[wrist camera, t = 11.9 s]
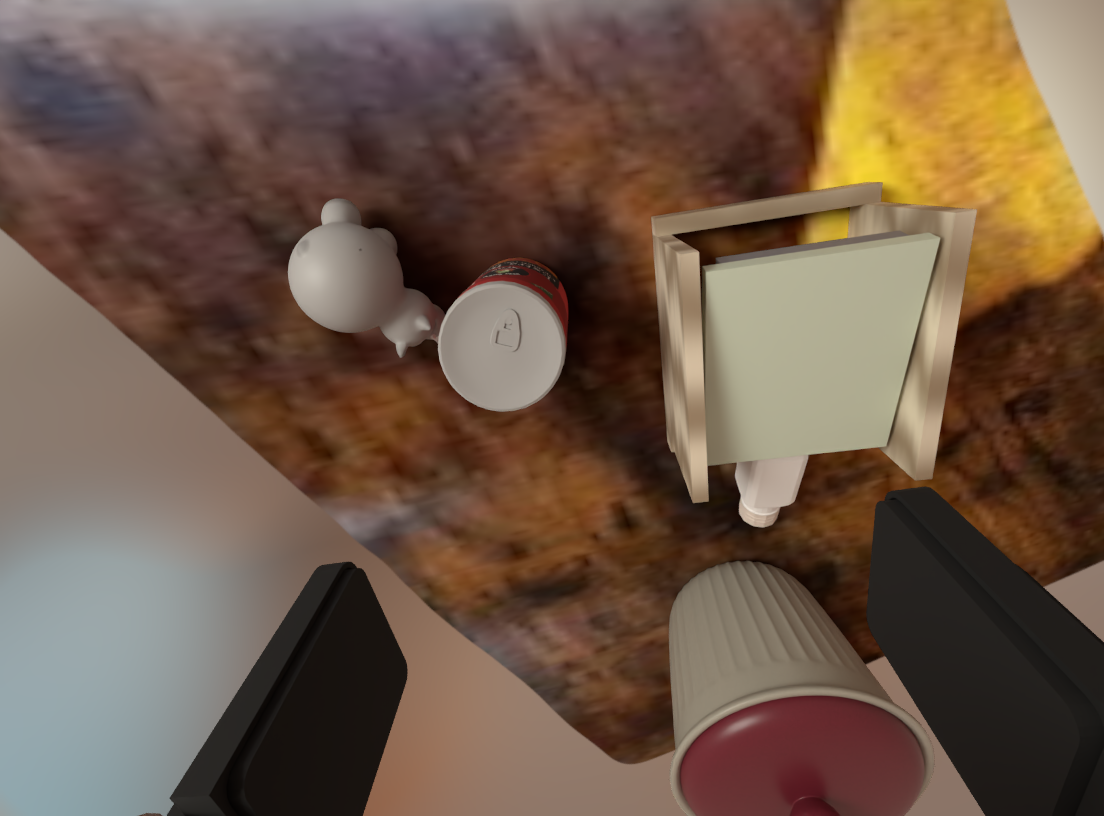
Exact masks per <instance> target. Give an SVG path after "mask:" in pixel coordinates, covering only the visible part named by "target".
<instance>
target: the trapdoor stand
mask: <svg viewBox="0 0 1104 816" xmlns="http://www.w3.org/2000/svg"><path fill="white" fill-rule="evenodd" d="M882 184H883V183H882V182H866V183H859V184H853V185H847V186H841V187H834V188H828V189H822V190H816V191H809V192H803V193H797V194H790V195H784V196H778V197H772V198H765V199H759V200H753V201H747V202H740V203H734V204H728V205H722V206H715V207H709V208H703V209H697V210H690V211H684V212H678V213H672V214H665V215H659V216H653V217H651V220H652V234H653V248H654V262H655V275H656V289H657V303H658V317H659V331H660V344H661V358H662V372H663V386H664V399H665V413H666V427H667V441H668V444H669V447H670V450H671V452H675V454H676V456H677V459H678V462H679V465H680V468H681V470H682V473H683V476H684V479H685V482H686V484H687V487H688V490H689V493H690V496H691V498H692V501H693V503H697V502H707V501H709V500H708V474H707V448H706V422H705V396H704V370H703V344H702V318H701V291H700V265H699V251H697V250H696V249H694V248H692V247H691V246H689V245H687V244H686V243H684V242H682V241H681V240H679V239H677V238H676V237H674V236H672V234H678V233H685V232H691V231H697V230H704V229H710V228H717V227H723V226H730V225H736V224H742V223H749V222H755V221H762V220H768V219H775V218H781V217H787V216H794V215H800V214H807V213H813V212H820V211H826V210H832V209H839V208H845V207H850V215H849V228H848V238H852V237H858V236H865V235H872V234H878V233H885V232H892V231H899V230H900V231H902V232H904V233H906V234H907V235H916V234H923V233H931V234H933V235H935V236H938V237H940V242H939V245H938V249H937V253H936V257H935V261H934V265H933V269H932V272H931V276H930V280H929V284H928V288H927V292H926V295H925V299H924V303H923V307H922V311H921V315H920V319H919V322H918V326H917V330H916V334H915V338H914V342H913V345H912V349H911V353H910V357H909V361H908V365H907V369H906V372H905V376H904V380H903V384H902V388H901V392H900V395H899V399H898V403H897V407H896V411H895V415H894V419H893V422H892V426H891V430H890V434H889V438H888V442H887V445H886V446H884V447H878V448H879V449H881V450H882V451H883V452H884V453H885V454H886V455H887V456H888V457H889V458H891V459H892V460H893V461H894V462H895V463H896V464H897V465H898V466H900V467H901V468H902V469H903V470H904V471H905V472H906V473H907V474H908V475H910V476H911V477H912V478H913V479H914V480H925V479H932V476H933V470H934V464H935V458H936V452H937V446H938V440H939V434H940V428H941V422H942V416H943V410H944V404H945V398H946V392H947V386H948V380H949V374H950V368H951V362H952V356H953V350H954V344H955V338H956V332H957V326H958V320H959V315H960V309H961V303H962V297H963V291H964V285H965V279H966V273H967V267H968V261H969V255H970V249H971V243H972V237H973V231H974V225H975V219H976V213H977V209H964V208H951V207H938V206H926V205H913V204H900V203H887V202H881V194H882Z"/></svg>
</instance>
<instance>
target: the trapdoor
mask: <svg viewBox="0 0 1104 816" xmlns="http://www.w3.org/2000/svg"><path fill="white" fill-rule="evenodd" d="M939 242H940V237H938V236H935V235H933V234H931V233H923V234H916V235H907V234H906V233H904V232H902V231H900V230H899V231H892V232H885V233H878V234H872V235H865V236H858V237H852V238H845V239H838V240H832V241H825V242H818V243H812V244H805V245H798V246H792V247H785V248H778V249H771V250H765V251H758V252H751V253H745V254H738V255H731V256H725V257H718V258H716V264H714V265H707V266H702V344H703V370H704V396H705V422H706V448H707V466H709V465H718V464H727V463H737V462H746V461H755V460H764V459H774V458H783V457H792V456H801V455H810V454H820V453H829V452H838V451H847V450H857V449H866V448H875V447H884V446H886V445H887V442H888V438H889V434H890V430H891V426H892V422H893V419H894V415H895V411H896V407H897V403H898V399H899V395H900V392H901V388H902V384H903V380H904V376H905V372H906V369H907V365H908V361H909V357H910V353H911V349H912V345H913V342H914V338H915V334H916V330H917V326H918V322H919V319H920V315H921V311H922V307H923V303H924V299H925V295H926V292H927V288H928V284H929V280H930V276H931V272H932V269H933V265H934V261H935V257H936V253H937V249H938V245H939Z"/></svg>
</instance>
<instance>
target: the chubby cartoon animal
mask: <svg viewBox="0 0 1104 816" xmlns="http://www.w3.org/2000/svg"><path fill="white" fill-rule="evenodd" d="M321 220H322V226H319V227H317V228H315V229H313V230H311V231H310V232H308V233H307V234H306V235H305V236H304V237H303V238H302V239H301V240H300V241H299V242H298V243H297V245H296V246H295V248H294V250H293V252H292V255H291V258H290V261H289V267H288V278H289V284H290V288H291V291H292V293H293V296H294V298H295V300H296V302H297V303H298V305H299V306H300V307H301V309H302V310H303V311H304V312H305V313H306V314H307V315H308V316H309V317H310V318H311V319H313V320H314V321H315V322H317V323H319V324H320V325H322V326H324V327H327V328H329V329H332V330H335V331H339V332H347V333H354V332H362V331H366V330H369V329H372V328H374V327H377V326H379V327H380V328H381V330H382V332H383V334H384V335H385V336H386V337H387V338H388V339H389V340H391V341H392V342H394V343H395V344H396V349H397V353H398V355H399V356H400V357H403V356H404V355H405V353H406V350H407V347H408V346H412V347H413V346H417V345H419V344H420V343H421V342H422V341H424V340H425V339H432V340H435V341H436V342H437V343H438V337H439V333H440V328H441V324H442V322H443V320H444V318H445V313H444V312H443V310H442V309H441V308H440V307H438V306H437V305H435V304H432V303H431V301H430V300H429V298H428V297H427V296H426V295H425V294H423V293H422V292H420V291H418V290H415V289H408V288H405V287H404V285H403V273H402V269H401V265H400V262H399V260H398V258H397V256H396V254H397V242H396V240H395V238H394V236H393V235H392V234H391V233H390V232H389V231H388V230H386V229H383V228H372V229H367V228H365V227H363V226H361V215H360V212H359V210H358V209H357V207H356V206H355V205H354V204H353V203H352V202H350V201H348V200H345V199H332V200H330V201H328V202H327V203H326V204H325V205H324V207H323V210H322V214H321Z"/></svg>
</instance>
